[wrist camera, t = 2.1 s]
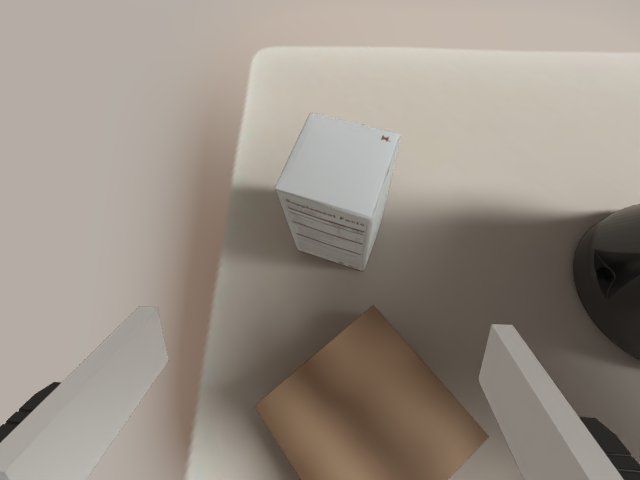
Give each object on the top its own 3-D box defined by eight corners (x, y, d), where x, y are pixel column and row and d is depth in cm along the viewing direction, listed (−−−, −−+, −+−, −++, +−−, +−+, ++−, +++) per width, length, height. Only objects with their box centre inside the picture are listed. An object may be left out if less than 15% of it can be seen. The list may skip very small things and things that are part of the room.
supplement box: (320, 192, 38) (310, 107, 26) (385, 211, 36) (405, 131, 24) (294, 251, 35) (270, 187, 23) (363, 274, 34) (374, 219, 22)
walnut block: (368, 315, 33) (373, 305, 28) (465, 427, 29) (488, 436, 24) (267, 402, 30) (253, 406, 26) (356, 537, 26) (359, 570, 22)
